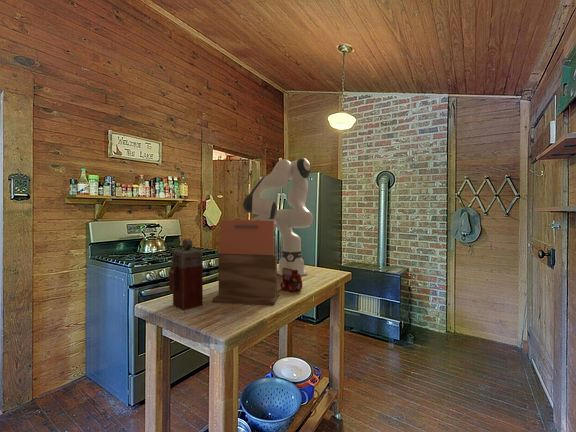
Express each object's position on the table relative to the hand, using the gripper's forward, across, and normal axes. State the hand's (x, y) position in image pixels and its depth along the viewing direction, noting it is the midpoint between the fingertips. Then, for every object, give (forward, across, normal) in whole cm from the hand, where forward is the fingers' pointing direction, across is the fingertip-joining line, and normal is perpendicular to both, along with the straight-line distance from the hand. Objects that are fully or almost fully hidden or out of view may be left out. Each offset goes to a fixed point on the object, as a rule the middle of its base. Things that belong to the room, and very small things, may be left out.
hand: (253, 226), depth 147 cm
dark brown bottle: (+23, -23, +32) cm, 46 cm away
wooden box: (+12, 0, +32) cm, 34 cm away
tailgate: (+12, 0, +12) cm, 16 cm away
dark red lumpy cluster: (-6, +19, +31) cm, 37 cm away
